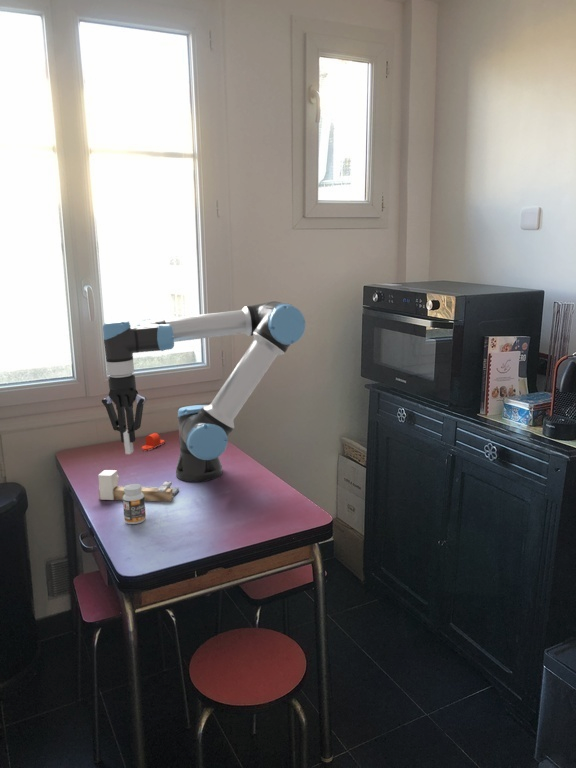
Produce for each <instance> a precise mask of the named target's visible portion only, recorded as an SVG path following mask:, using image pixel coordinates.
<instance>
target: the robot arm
mask: <svg viewBox="0 0 576 768" xmlns="http://www.w3.org/2000/svg"><path fill="white" fill-rule="evenodd" d="M305 331H306V319H305V316H304V315H303V313H302V311H301V310H300V309H299V308H298V307H296V306H294V305H293V304H290V303H286V302H281V301H276V300H275V301H268V302H263V303H258V304H252V305H245V306H243V307H242V309H238V310H230V311H221V312H220V311H219V312H210V313H204V314H194V315H187V316H178V317H170V318H169V317H168V318H161V319H150V318H149V319H142V321H139V323H137V325H136V326H131V324H130V321H129V320H126V319H121V320H119V319H118V320H110V321H106V322H104V323H103V324H102V334H103V335H102V336H103V338H102V339H103V345H104V353H105V363H106V370H107V371H106V372H107V375H108V377H107V381H108V388H109V392H108V396H107V397H105V398H103V399H101V403H102V404H103V406H104V407H105V409H106V411H107V415H108V417H109V420H110V423H111V426H112V429H113V430H114V431H118V432H119V433H120V441H121V443H122V444H123V445H124V452H125V455H131V454H133V452H134V442H136V431H138V429H140V428H141V425H142V419H143V411H144V405H145V403H146V401H147V397H146V396H142V395H140V394H139V392H138V390H137V383H136V375H135V374H134V373H135V363H134V354H136V353H146V352H147V353H148V352H160V351H161V352H165V351H169V350H172V349H174V346H175V342H183V341H191V340H193V341H194V340H201V339H208V338H215V337H216V338H217V337H225V336H233V335H235V336H236V335H241V334H242V335H243V334H245V335H246V336H247V337H251V336H252V337H253V340H252V342H251V343H250V345H249V346H248V348H247V349H246V351H245V353H244V354H243V355H242V357H241V358H240V359H239V361H238V363H237V364H236V366H235V367H234V369H233V370H232V372H231V373H230V374H229V376H228V377H227V379H226V380H225V382H223V384H222V386H221V388H220V389H219V391H218V392H217V393H216V395H215V397H214V398H213V400H212V401H211V402H210V403H209V404H196V405H188V406H183V407H180V408H179V409H178V410H177V421H178V422H177V423H178V435H179V436H178V437H179V438H178V439H179V456H178V460H177V463H176V468H175V476H176V478H177V479H179V480H181V481H183V482H184V481H185V482H191V483H192V482H196V483H197V482H206V481H210V480H214V479H216V478H218V477H220V476H221V475H222V473H223V464H222V462H221V459H220V456H221V455H222V454H223V453H224V452H225V451H226V449H227V447H228V441H229V440H228V439H229V436H230V435H231V434H232V431H234V429H235V424H234V421H235V419H236V417H237V416H238V414H239V413H240V411H241V410H242V408H243V406H244V405H245V404H246V402H247V400H248V399H249V397H250V396H251V395H252V393H253V392H254V391H255V389H256V387H257V386H258V385H259V384H260V382H261V380H262V379H263V377H264V375H265V374H266V373H267V372H268V370H269V368H270V367H271V365H272V364H273V363H274V361H275V360H276V358H277V357H278V356H281V355H285V353H286V352H287V351H288V349H289V347H290V346H291V345H293V344H294V343H297V342H298V341H299V340H301V338H302V337H303V335H304V334H305ZM135 401H136V404H137V405H136V406H135V407H136V408H135V415H134V402H135ZM113 404H114V405H115V407H116V408H115V407H114V405H113ZM116 411H117V413H116Z"/></svg>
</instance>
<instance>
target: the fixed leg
mask: <svg viewBox="0 0 576 768" xmlns="http://www.w3.org/2000/svg"><path fill="white" fill-rule="evenodd" d="M159 487H160V488H159V489H158V490H157V491H158V492H165V491H166V489H170V487H172V481H171V480H170V481H167V480H166V481H164V482H163V483H162V485H160V486H159Z"/></svg>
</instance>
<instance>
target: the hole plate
mask: <svg viewBox="0 0 576 768" xmlns="http://www.w3.org/2000/svg"><path fill="white" fill-rule="evenodd" d="M125 486H126V485H118V487H125ZM141 487H142V488H160V487H161V486H144V485H143V486H142V485H141ZM170 489H172V494H173V497H175V496H176V495H177V493H178V492H179V490H180V488H179V487H178V486H177V487H176V486H170Z"/></svg>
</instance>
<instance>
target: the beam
mask: <svg viewBox="0 0 576 768" xmlns="http://www.w3.org/2000/svg"><path fill="white" fill-rule="evenodd" d="M158 489H159V488H142V490H141V492H142V493H143V494H144V500H145V502H147V501H148V502H171V501H172V500H173V499H174V496H173V494H172V489H166V491H165V492H158V491H157V490H158ZM113 493H114V500H117V501H123V496H124V494H125V492H124V487H115V488H114V489H113ZM98 498H99V499H98V500H100V489H98ZM114 500H113V501H114Z"/></svg>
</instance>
